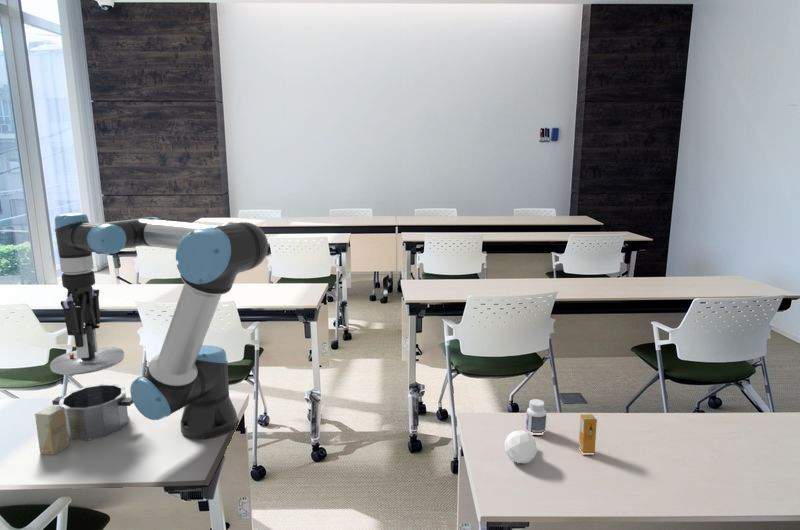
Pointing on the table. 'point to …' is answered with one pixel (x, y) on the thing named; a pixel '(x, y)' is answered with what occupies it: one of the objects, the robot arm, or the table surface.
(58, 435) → the box
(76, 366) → the lid
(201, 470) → the table surface
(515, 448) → the white faceted ovoid
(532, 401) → the pill bottle
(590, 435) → the supplement box
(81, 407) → the pot
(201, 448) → the table surface
